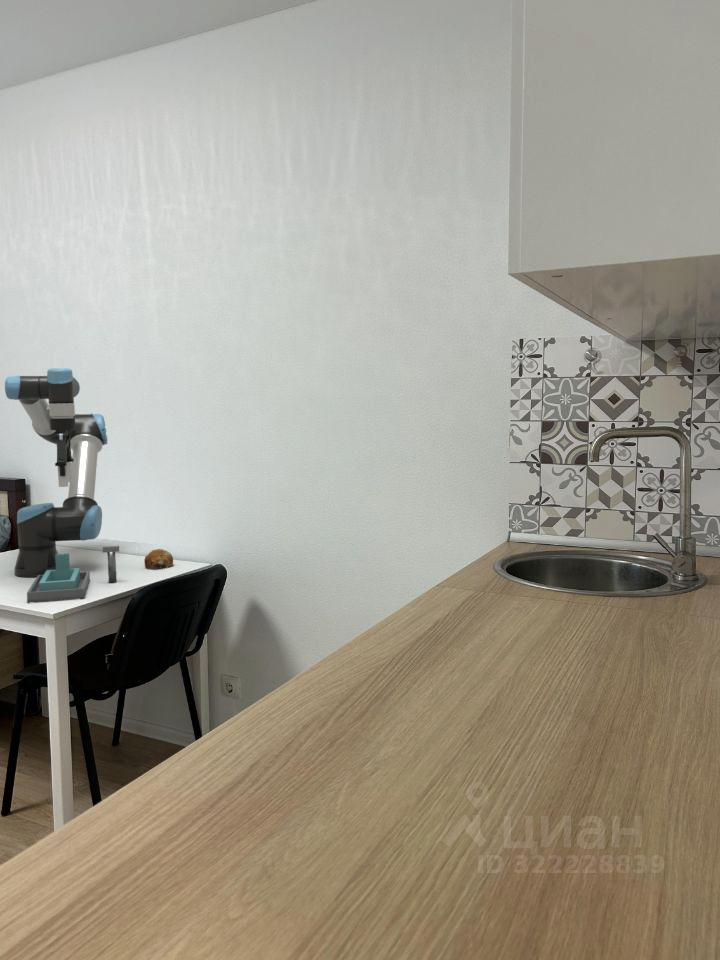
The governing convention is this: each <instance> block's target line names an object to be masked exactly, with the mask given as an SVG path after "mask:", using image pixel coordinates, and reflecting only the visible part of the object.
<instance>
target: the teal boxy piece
mask: <svg viewBox="0 0 720 960" xmlns="http://www.w3.org/2000/svg"><path fill="white" fill-rule="evenodd" d="M55 560H56V570H46V572H45V574H44V575H43V577H42V579H41V580H40V582H39V591H51V590H65V589H77V588H78V586H79V583H80V572H81V568H80V567H76V568H75V567H74V568H73V567H72V568H71V563H70V553H58V554H56V555H55Z"/></svg>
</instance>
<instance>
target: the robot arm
mask: <svg viewBox="0 0 720 960" xmlns="http://www.w3.org/2000/svg"><path fill="white" fill-rule="evenodd" d="M46 372H47V373H46V375H14V376H13V375H11V376H7V377H6V379H5V381H4V382H5V383H4V392H5V396H6V397H7V399H8V400H13V401H14V400H15V401H17V400H18V401H19V402H20V404H21V406H22V407H23V410H25V412H26V413H27V415H28V417H29V419H30V420H31V425H32V426H31V427H32V428H33V430H34V432H35V433H36V434H37V435H38V436H39V437H40V438H42V439H43V440H45V441H47V442H48V443H51V444H54V445H56V462H55V463H54V466H55V467H57V478H58V487H59V488H67V487H68V495H67V497H66V498H65V499H64V500H63V502H62V506H59V507H55V505H54V503H53V502H46V503H38V504H32V505H28V506H24V507H22V508H19V510H18V511H17V513H16V514H17V515H16V519H17V520H16V524H17V525H16V526H17V538H18V539H17V540H18V554H17V558H16V562H15V565H14V576H16V577H21V578H37V576H38V575H44V574H45V572H46V570H56V560H55V555H56V554H59V552H58V550H57V546H56V545H57V544H56V543H57V542H71V541H75V542H76V541H88V540H90V541H91V540H95V539H96V538H98V536H99V535H100V534H101V529H102V525H103V524H102V523H103V522H102V521H103V509H102V507H101V506H99V504H98V502H97V501H96V500H95V493H96V491H95V490H96V480H97V479H96V477H97V466H98V455H99V454H98V453H99V452H101V451H102V449H103V447H104V446H105V445H108V442H107V441H108V435H106V432H107V427H106V428H105V426H106V421H104V420H105V417H104V416H103V415H102V414H100V413H88V414H85V413H82V414H80V413H75V412H76V411H75V400H74V398H76V397H77V396H78V395H79V393H80V390H81V386H80V383H79V381H78V379H76V378H75V377H74V376H73V375H74V374H73V370H72V369H71V368H65V367H64V368H61V367H60V368H59V367H57V368H49V369H48V370H47V371H46ZM47 400H48V401H47Z"/></svg>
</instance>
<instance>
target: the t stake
mask: <svg viewBox="0 0 720 960" xmlns="http://www.w3.org/2000/svg"><path fill="white" fill-rule="evenodd" d="M117 552H118V553H119V552H120V545H111V546H110V545H109V546H108V545H107V546H102V553H107V570H108V572H107V573H108V583H109V584H115V583H117V581H118V580H117V563H116V562H117V561H116V560H117V559H116V553H117Z"/></svg>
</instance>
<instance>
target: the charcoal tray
mask: <svg viewBox="0 0 720 960" xmlns="http://www.w3.org/2000/svg"><path fill="white" fill-rule="evenodd" d="M90 575H91V572H90V571H80V583H79V586H78V588H77V589H65V590H51V591H39V582H40V580H41V579H42V577H43V575H38V576H37V577H35V579H34V581H33V583H32V584H31V586H30V587H29V589H28V590H27V592H26V602H34V603H43V602H44V603H45V602H47V603H48V602H56V601H57V602H58V601H59V602H60V601H71V600H84V599H85V598H86V594H87V592H88V588H89V586H90V582H91V576H90Z"/></svg>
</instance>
